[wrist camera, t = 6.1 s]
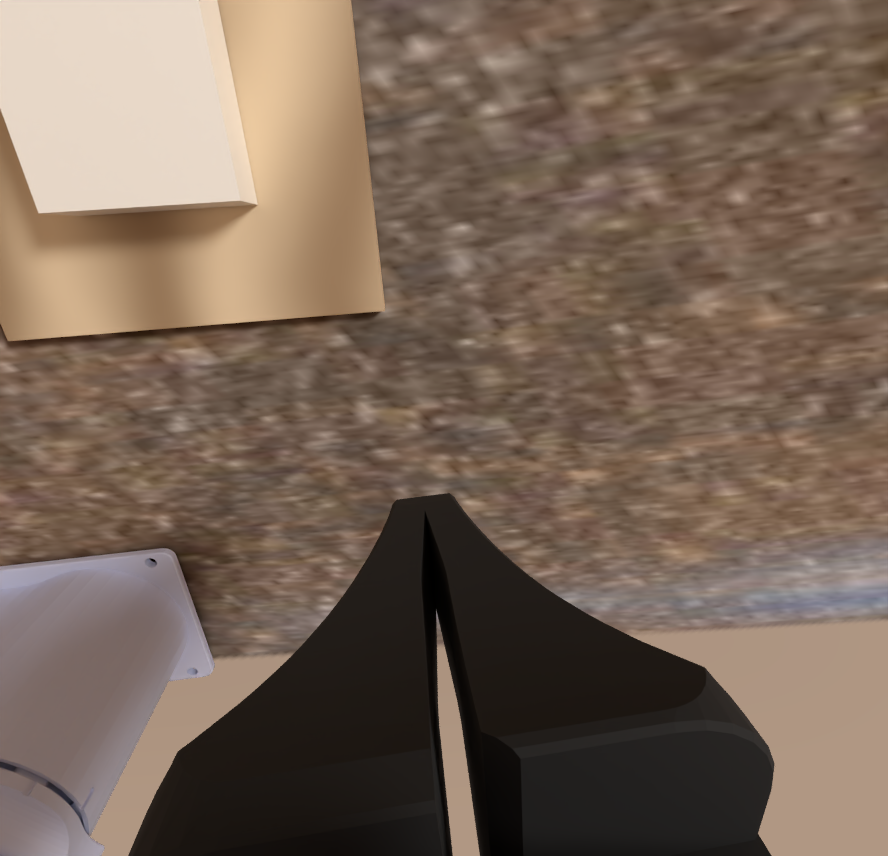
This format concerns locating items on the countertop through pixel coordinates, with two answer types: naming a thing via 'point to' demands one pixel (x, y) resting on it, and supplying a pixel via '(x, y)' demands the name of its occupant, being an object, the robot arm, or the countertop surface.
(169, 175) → the block
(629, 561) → the countertop surface
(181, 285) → the mat
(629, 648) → the robot arm
